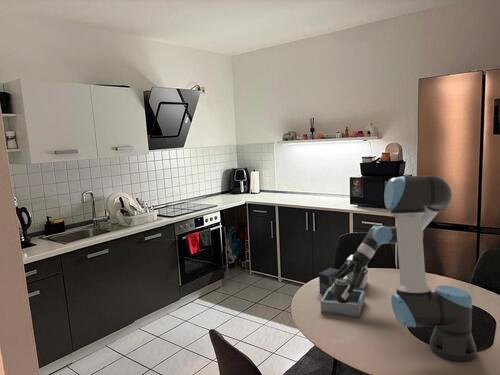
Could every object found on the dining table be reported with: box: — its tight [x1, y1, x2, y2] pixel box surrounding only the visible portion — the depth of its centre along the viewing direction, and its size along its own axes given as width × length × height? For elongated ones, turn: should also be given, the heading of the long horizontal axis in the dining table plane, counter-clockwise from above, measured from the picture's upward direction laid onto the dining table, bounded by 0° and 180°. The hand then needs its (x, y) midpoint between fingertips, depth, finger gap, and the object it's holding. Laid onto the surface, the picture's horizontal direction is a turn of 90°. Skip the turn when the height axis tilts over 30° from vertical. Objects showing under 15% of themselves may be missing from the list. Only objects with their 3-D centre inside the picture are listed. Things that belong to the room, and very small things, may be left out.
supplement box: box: [346, 254, 369, 289], centre depth 203 cm, size 9×9×15 cm
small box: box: [318, 267, 340, 295], centre depth 197 cm, size 11×6×10 cm, turn 134°
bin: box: [320, 287, 365, 319], centre depth 178 cm, size 17×17×6 cm
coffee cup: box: [334, 278, 351, 303], centre depth 178 cm, size 8×8×10 cm
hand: (337, 294), depth 176 cm, fingers closed on coffee cup, 8 cm apart
